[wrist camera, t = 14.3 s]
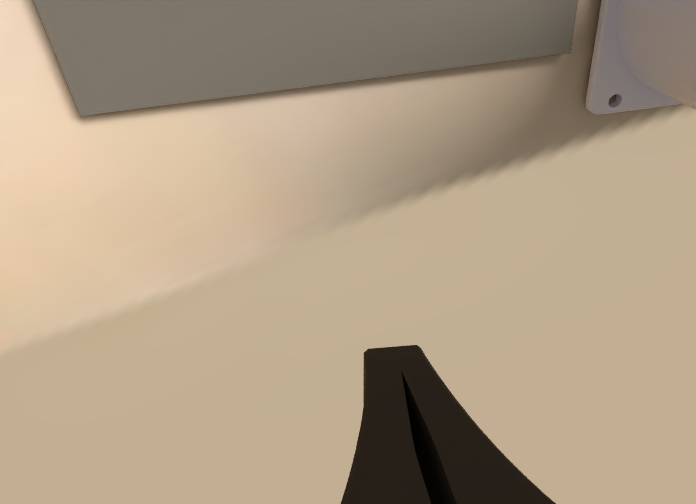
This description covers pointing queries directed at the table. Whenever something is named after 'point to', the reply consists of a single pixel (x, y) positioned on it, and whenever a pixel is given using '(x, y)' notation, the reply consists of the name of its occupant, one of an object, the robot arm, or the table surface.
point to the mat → (281, 43)
